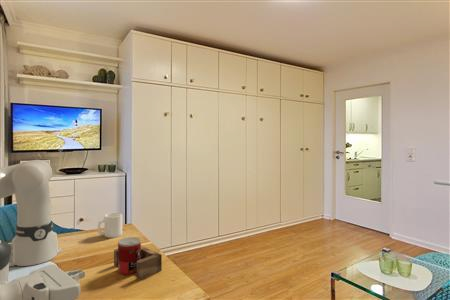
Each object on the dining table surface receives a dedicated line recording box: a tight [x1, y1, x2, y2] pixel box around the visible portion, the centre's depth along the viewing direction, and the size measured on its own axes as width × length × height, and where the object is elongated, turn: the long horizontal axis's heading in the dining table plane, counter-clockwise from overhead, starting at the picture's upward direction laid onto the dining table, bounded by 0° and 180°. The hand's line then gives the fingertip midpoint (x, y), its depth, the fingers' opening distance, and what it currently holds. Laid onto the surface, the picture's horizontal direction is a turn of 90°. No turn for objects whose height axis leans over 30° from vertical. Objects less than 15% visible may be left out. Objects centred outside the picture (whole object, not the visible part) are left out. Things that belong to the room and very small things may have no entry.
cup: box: [97, 212, 123, 239], centre depth 135 cm, size 8×12×10 cm
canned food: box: [117, 236, 142, 276], centre depth 100 cm, size 8×8×11 cm
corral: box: [113, 245, 163, 281], centre depth 102 cm, size 17×9×6 cm, turn 51°
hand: (82, 272), depth 86 cm, fingers closed
